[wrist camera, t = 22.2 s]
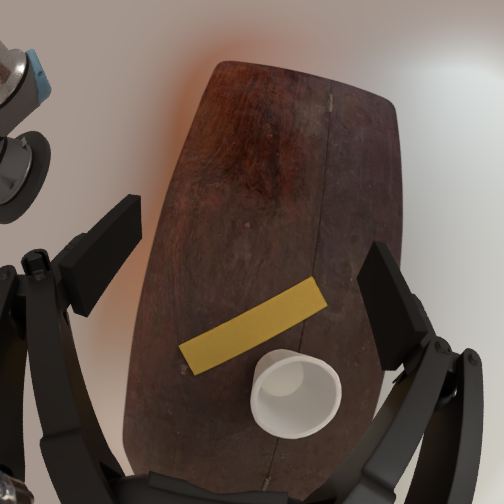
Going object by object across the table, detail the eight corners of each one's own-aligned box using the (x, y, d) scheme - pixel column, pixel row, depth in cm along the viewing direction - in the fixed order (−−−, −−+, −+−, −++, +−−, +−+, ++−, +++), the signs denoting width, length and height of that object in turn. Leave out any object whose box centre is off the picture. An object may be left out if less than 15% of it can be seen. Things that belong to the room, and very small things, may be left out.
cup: (265, 413, 36) (277, 453, 24) (233, 361, 38) (232, 385, 25) (322, 381, 38) (355, 408, 25) (293, 328, 39) (318, 337, 27)
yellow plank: (195, 374, 37) (194, 375, 36) (179, 345, 38) (178, 345, 37) (326, 305, 40) (327, 305, 39) (311, 276, 41) (312, 276, 40)
